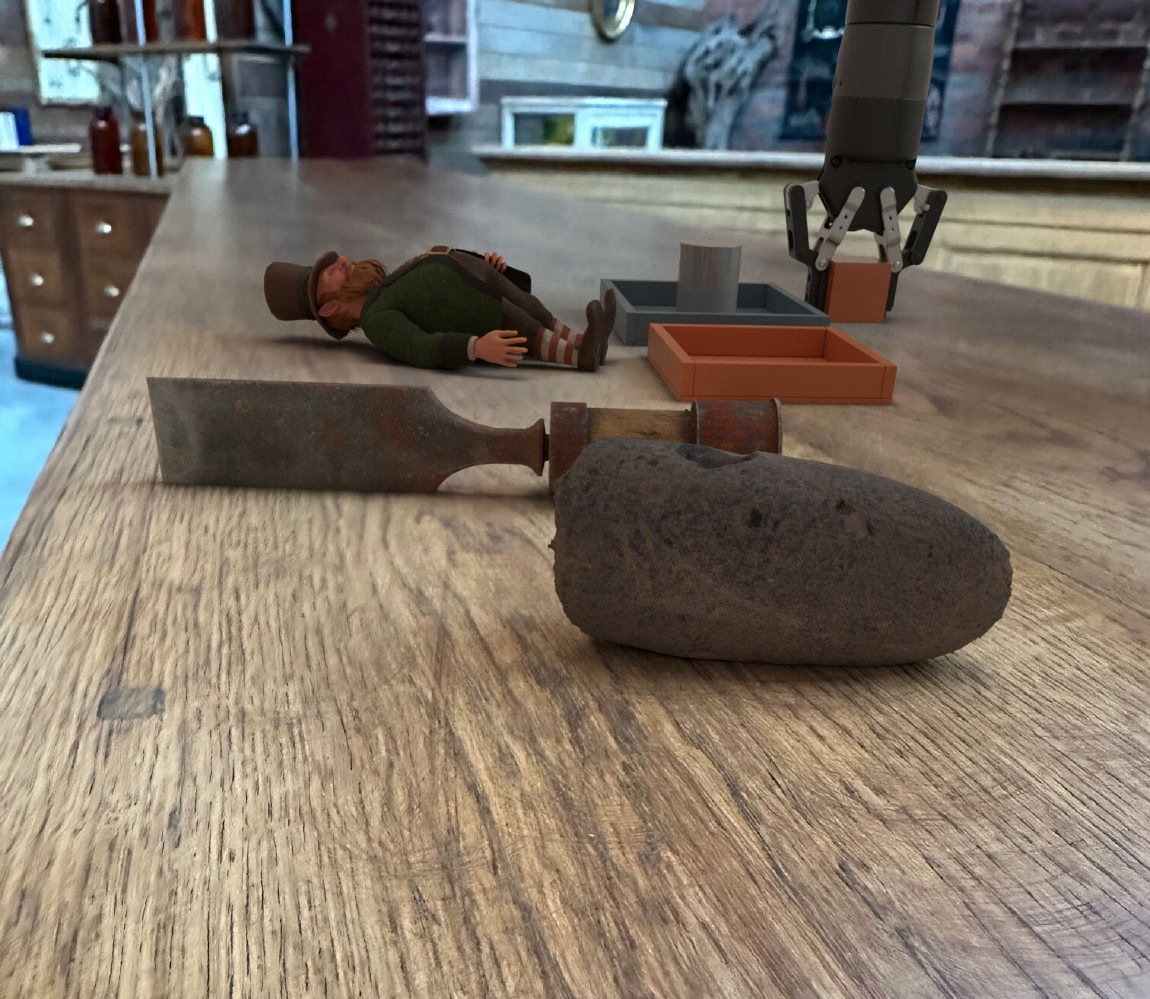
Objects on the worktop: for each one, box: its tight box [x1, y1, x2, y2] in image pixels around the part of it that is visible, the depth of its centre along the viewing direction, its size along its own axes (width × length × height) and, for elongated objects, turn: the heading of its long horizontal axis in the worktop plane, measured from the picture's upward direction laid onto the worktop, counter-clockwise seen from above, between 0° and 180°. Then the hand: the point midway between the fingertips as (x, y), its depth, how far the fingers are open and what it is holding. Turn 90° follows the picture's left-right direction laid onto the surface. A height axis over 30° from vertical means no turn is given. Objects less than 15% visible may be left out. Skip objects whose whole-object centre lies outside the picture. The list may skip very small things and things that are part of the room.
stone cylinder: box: [675, 238, 743, 313], centre depth 92 cm, size 5×5×6 cm
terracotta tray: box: [646, 323, 898, 405], centre depth 76 cm, size 14×14×3 cm
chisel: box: [145, 376, 784, 494], centre depth 52 cm, size 28×5×5 cm, turn 90°
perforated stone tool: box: [547, 437, 1014, 667], centre depth 37 cm, size 15×5×7 cm, turn 81°
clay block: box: [824, 254, 893, 324], centre depth 99 cm, size 5×5×5 cm
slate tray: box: [599, 278, 831, 347], centre depth 93 cm, size 16×18×3 cm
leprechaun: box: [263, 245, 616, 373], centre depth 79 cm, size 11×10×25 cm
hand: (847, 315), depth 100 cm, fingers closed on clay block, 5 cm apart
